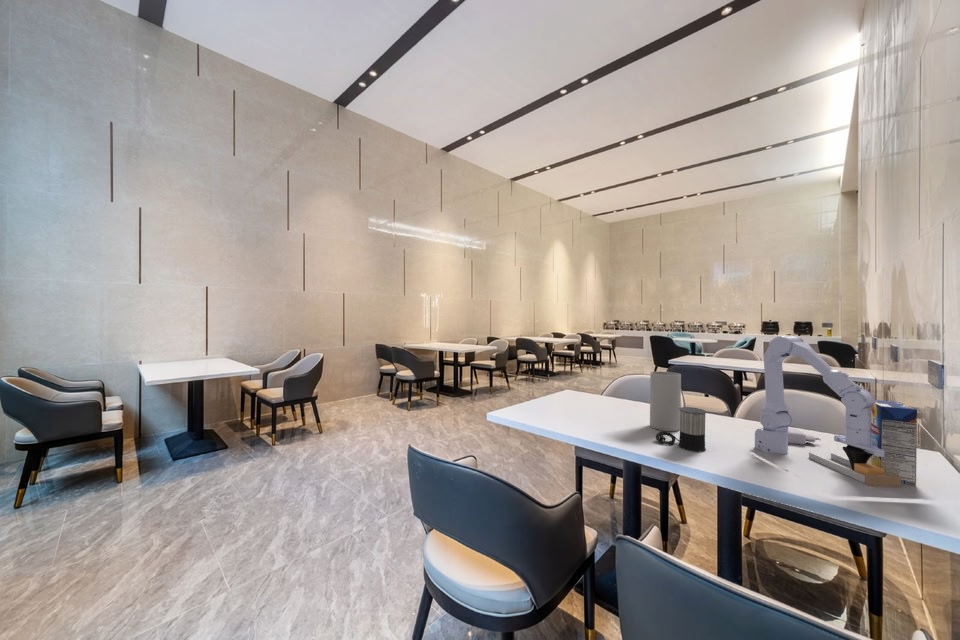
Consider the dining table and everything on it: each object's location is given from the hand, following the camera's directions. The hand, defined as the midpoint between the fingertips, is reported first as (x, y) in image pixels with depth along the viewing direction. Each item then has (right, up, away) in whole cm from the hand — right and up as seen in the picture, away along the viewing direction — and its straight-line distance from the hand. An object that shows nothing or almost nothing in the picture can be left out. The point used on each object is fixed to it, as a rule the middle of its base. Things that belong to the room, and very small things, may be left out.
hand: (857, 471), depth 116 cm
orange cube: (0, -1, -4) cm, 4 cm away
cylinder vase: (-35, -2, +52) cm, 63 cm away
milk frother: (-41, -2, +28) cm, 50 cm away
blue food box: (+9, -3, -1) cm, 10 cm away
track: (0, -2, +2) cm, 3 cm away
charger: (+10, -2, +34) cm, 36 cm away
